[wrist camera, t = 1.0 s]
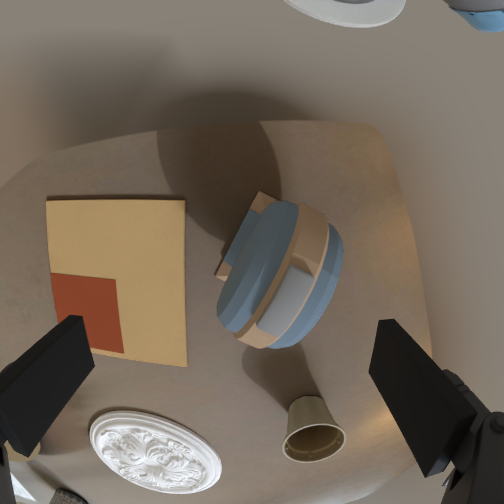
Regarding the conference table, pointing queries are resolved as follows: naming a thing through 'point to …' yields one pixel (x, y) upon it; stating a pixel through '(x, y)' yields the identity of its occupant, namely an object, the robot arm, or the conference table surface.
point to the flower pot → (311, 431)
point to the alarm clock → (278, 273)
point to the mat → (122, 274)
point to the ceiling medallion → (155, 452)
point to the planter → (65, 498)
